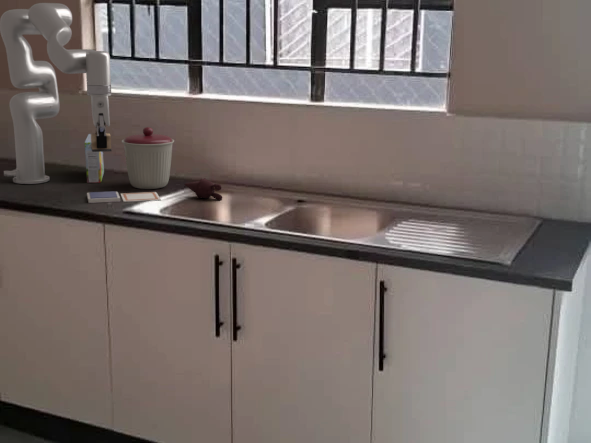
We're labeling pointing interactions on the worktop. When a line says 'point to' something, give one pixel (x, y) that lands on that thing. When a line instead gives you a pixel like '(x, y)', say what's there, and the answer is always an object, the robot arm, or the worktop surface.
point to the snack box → (93, 163)
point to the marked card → (139, 196)
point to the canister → (148, 159)
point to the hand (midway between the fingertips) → (101, 146)
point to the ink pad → (103, 197)
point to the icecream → (205, 189)
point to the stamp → (94, 143)
